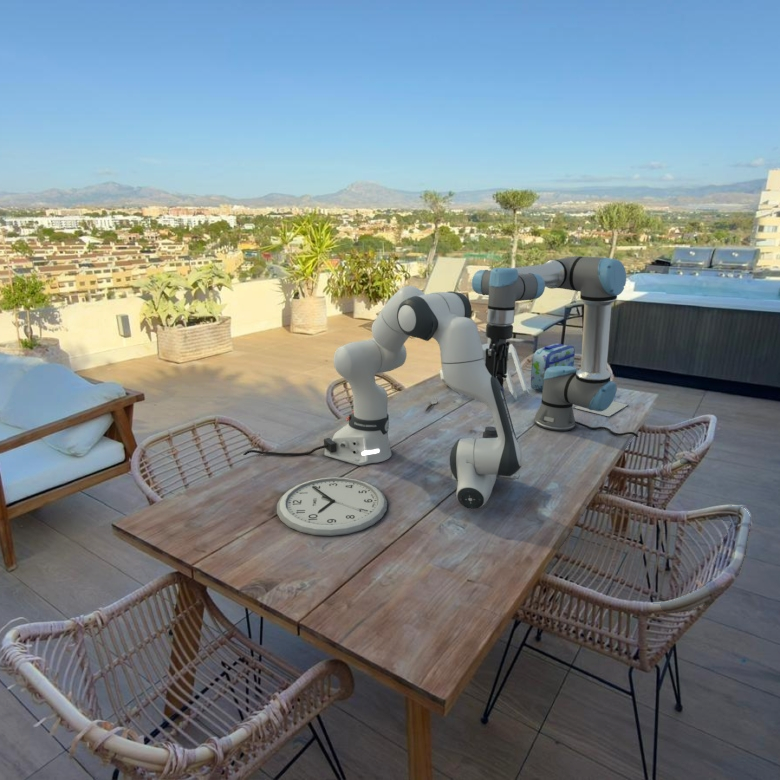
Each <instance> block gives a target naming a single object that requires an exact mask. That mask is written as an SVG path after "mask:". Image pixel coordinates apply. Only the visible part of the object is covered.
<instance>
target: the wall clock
mask: <svg viewBox="0 0 780 780" xmlns="http://www.w3.org/2000/svg"><path fill="white" fill-rule="evenodd" d="M387 509H388V500H387V498H386V496H385V494H384V493H383V492H382V491H381V490H380V489H379V488H377V487H376V486H374V485H372V484H371V483H369V482H365V481H362V480H359V479H355V478H349V477H338V476H337V477H335V476H333V477H332V476H331V477H322V478H317V479H312V480H307V481H305V482H302V483H299V484H297V485H295V486H293V487H292V488H290V489H288V490H287V491H286V492H285V493H284V494H283V495H281V496H280V498H279V499H278V502H277V503H276V515H277V517H278V518H279V520H280V521H281V522H282V523H283V524H285V525H286V526H287V527H288V528H290V529H293V530H295V531H297V532H299V533H303V534H308V535H312V536H327V537H328V536H329V537H331V536H332V537H333V536H342V535H350V534H352V533H356V532H361V531H363V530H366V529H368V528H369V527H372V526H373V525H375V524H376V523H378V522H379V521H380V520H381V519H382V518H383V517H384V516H385V514H386V512H387Z"/></svg>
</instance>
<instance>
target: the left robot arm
mask: <svg viewBox="0 0 780 780" xmlns="http://www.w3.org/2000/svg"><path fill="white" fill-rule="evenodd" d="M472 312H473V311H472V305H471V302H470V300H469V298H468V297H467V296H466V295H465V294H464V293H461V292H458V291H446V292H445V291H437V292H431V293H426V294H425V293H424V292H423V291H422V290H421V289H420V288H419V287H416V286H414V285H406V286H403V287H401V288H400V289H399V290H397V291H396V292H395V293H394V294H393V295H392V296H391V297H390V298H389V299H388V301H387V302H386V304H385V305H384V306H383V308H382V309H381V311H380V312H379V314H378V315H377V316H376V318H375V319H374V321H373V322H372V325H371V335H372V338H370V339H366V340H358V341H353V342H349V343H346V344H344V345H341V346H339V347H338V348H336V350H335V352H334V353H333V360H332V361H333V366H334V369H335V372H337V373H338V375H339V376H340V377H342V378H343V379H345V380H346V382H347V383H348V384H349V386H350V389H351V392H352V401H353V403H352V404H353V410H352V411H351V413H350V414H349V415H348V416H347V417H346V422H348V423H346V424H345V425H343V427H341V428H339V429H338V430H337V431H336V432H335V433H334V434H333V436H332V439H331V438H330V437H326V438H323V445H320V446H317V447H315V448H313V449H311V450H310V451H306V452H305V451H304V452H277V451H264V450H258V449H249V450H247V451H245V452H243V454H242V455H243V456H247V455H248V454H250V453H255V454H261V455H275V456H295V457H296V456H297V457H298V456H307V455H310V454H313V453H315V452H316V451H318V450H321V449H324V456H325V457H329V458H332V459H335V460H338V461H342V462H346V463H348V464H353V465H357V466H365V465H369V464H377V463H381V462H385V461H387V460H390V458H391V457H392V455H393V453H392V450H391V446H390V440H389V430H390V417H389V414H388V413H389V412H388V407H389V406H388V401H389V400H388V397H389V395H388V392H387V390H386V389H385V388H384V387H383V386H382V385H380V384H378V383H377V381H376V375H377V374H382V373H387V372H391V371H394V370H396V369H398V368H400V367H402V366H403V365H404V364H405V363H406V361H407V356H408V355H407V353H408V352H407V348H406V346H405V343H406V342H407V340H408V339H409V338H410V337H412V338H417V339H419V340H423V341H425V342H429V341H430V340H432V339H434V340H435V341H436V342H437V344H438V346H439V352H440V353H439V354H440V364H441V369H442V373H443V377H444V380H445V382H446V384H447V385H446V386H447V387H448V388H450V389H451V390H452V391H454V392H456V393H457V394H460V395H462V396H464V397H468V398H470V399H475V400H477V401H479V402H481V403H483V404H485V405H486V406H487V408H488V409H489V410H490V412H491V416H492V420H493V424H494V427H496V431H497V435H498V437H497V438H483V437H463V438H458V439H457V441H456V442H455V443H454V444H453V446H452V447H451V449H450V452H449V453H450V454H449V467H450V471H451V472H450V473H451V479H452V480H454V481H457V486H456V499H457V502H458V503H459V505H461V506H462V507H463V508H466V509H469V510H478V509H481V508H482V507H484V506H485V505H486V503H487V502H488V501H489V498H490V497H491V495H492V492H493V488H494V486H495V484H496V481H497V479H498V480H503V481H504V480H505V481H510V482H511V481H512V482H513V481H516V480H518V479H519V478H520V476H521V475H520V474H521V469H522V466H523V465H522V464H523V453H522V449H521V446H520V444H519V441H518V438H517V435H516V432H515V429H514V425H513V422H512V418H511V415H510V412H509V407H508V404H507V401H506V396H505V394H504V391H503V390H502V387H501V385H500V383H499V381H498V379H497V378H495V377H493V376H491V375H490V373H489V372H488V370H487V368H486V366H485V362H484V356H483V348H482V345H483V343H482V338H481V334H480V330H479V328H478V325H477V323H476V322H475V321H474V320H473V319H472V318H471V317H472Z"/></svg>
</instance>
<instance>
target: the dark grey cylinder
mask: <svg viewBox="0 0 780 780" xmlns="http://www.w3.org/2000/svg"><path fill="white" fill-rule="evenodd" d="M497 437H498V435H497V431H496V427H495V426H486V427H484V431H483V432H482V438H497Z"/></svg>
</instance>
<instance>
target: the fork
mask: <svg viewBox="0 0 780 780" xmlns="http://www.w3.org/2000/svg"><path fill="white" fill-rule="evenodd" d="M438 401H439V398H438V397H435V396H433V398H432V399H431V401H430V404H429V405H428V406H427V408H426V409H425V412H427V411H428V410H429V409H431V408H432V406H433V405H437V404H438Z"/></svg>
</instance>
